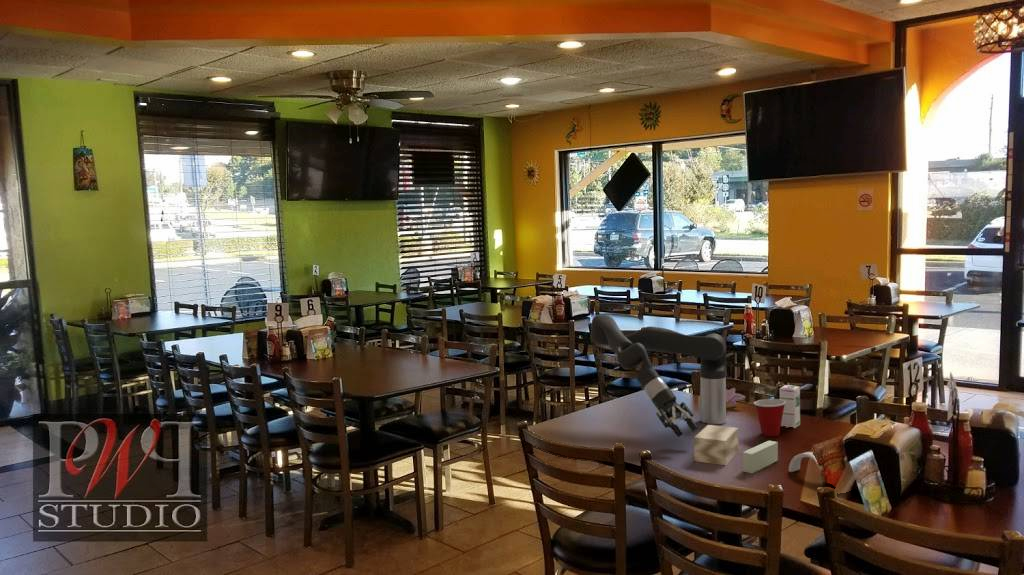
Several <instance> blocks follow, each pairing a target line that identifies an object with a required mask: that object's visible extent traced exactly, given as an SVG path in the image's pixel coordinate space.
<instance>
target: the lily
mask: <svg viewBox="0 0 1024 575" xmlns="http://www.w3.org/2000/svg"><path fill="white" fill-rule="evenodd" d="M745 398H746V396H745V395H743V394H741V393H736V388H735V387H732V388H730V389H728V388H726V411H727V410H728V408H727V407H728V403H729V404H730V405H732V406H734V407H736V406H737V405H738V404H737V400H741V399H745Z"/></svg>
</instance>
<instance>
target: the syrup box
mask: <svg viewBox="0 0 1024 575" xmlns="http://www.w3.org/2000/svg"><path fill="white" fill-rule="evenodd" d="M800 388H801V387H800V386H797V385H790V384H784V385H783V386H782V387H780V388H779V399H780V400H784V401H786V403H785V405H784V411H783V416H782V422H781V427H783V426H785V427H784V428H789V427H793V428H792V429H796V428H797V427H799V426H801V389H800Z"/></svg>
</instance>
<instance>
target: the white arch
mask: <svg viewBox="0 0 1024 575" xmlns="http://www.w3.org/2000/svg"><path fill="white" fill-rule="evenodd" d="M813 452H814V451H806V452H803V453H799V454H797V455H795V456H793V458H791V461H790V462H789V466H788V472H789V473H793V472H796V471H799V470H800V469H801V463H802V459H804V458H810V459H812V460H813V462H814V463H815V464H816V465H817V467H818V468H819V466H818V463H817V460H816V458H815V456H814V455H813Z"/></svg>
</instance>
